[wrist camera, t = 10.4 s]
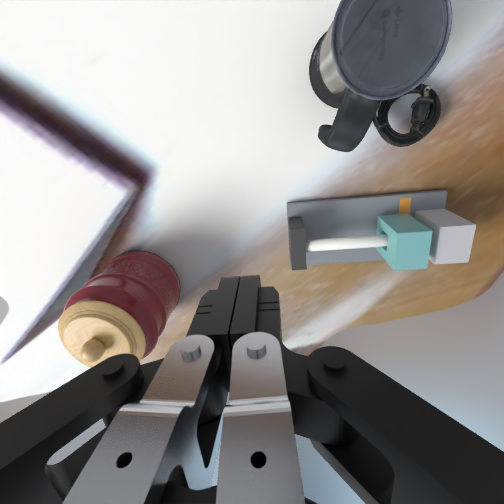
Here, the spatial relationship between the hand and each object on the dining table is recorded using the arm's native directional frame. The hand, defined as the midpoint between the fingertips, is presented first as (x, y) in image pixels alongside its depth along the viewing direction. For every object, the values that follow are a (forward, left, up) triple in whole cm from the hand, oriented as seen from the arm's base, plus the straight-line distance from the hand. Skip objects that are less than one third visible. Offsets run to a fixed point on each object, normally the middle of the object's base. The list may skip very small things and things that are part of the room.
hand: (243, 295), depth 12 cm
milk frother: (-9, +14, -33) cm, 37 cm away
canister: (+17, -22, -33) cm, 43 cm away
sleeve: (+10, +18, -31) cm, 37 cm away
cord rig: (+10, +14, -33) cm, 37 cm away
